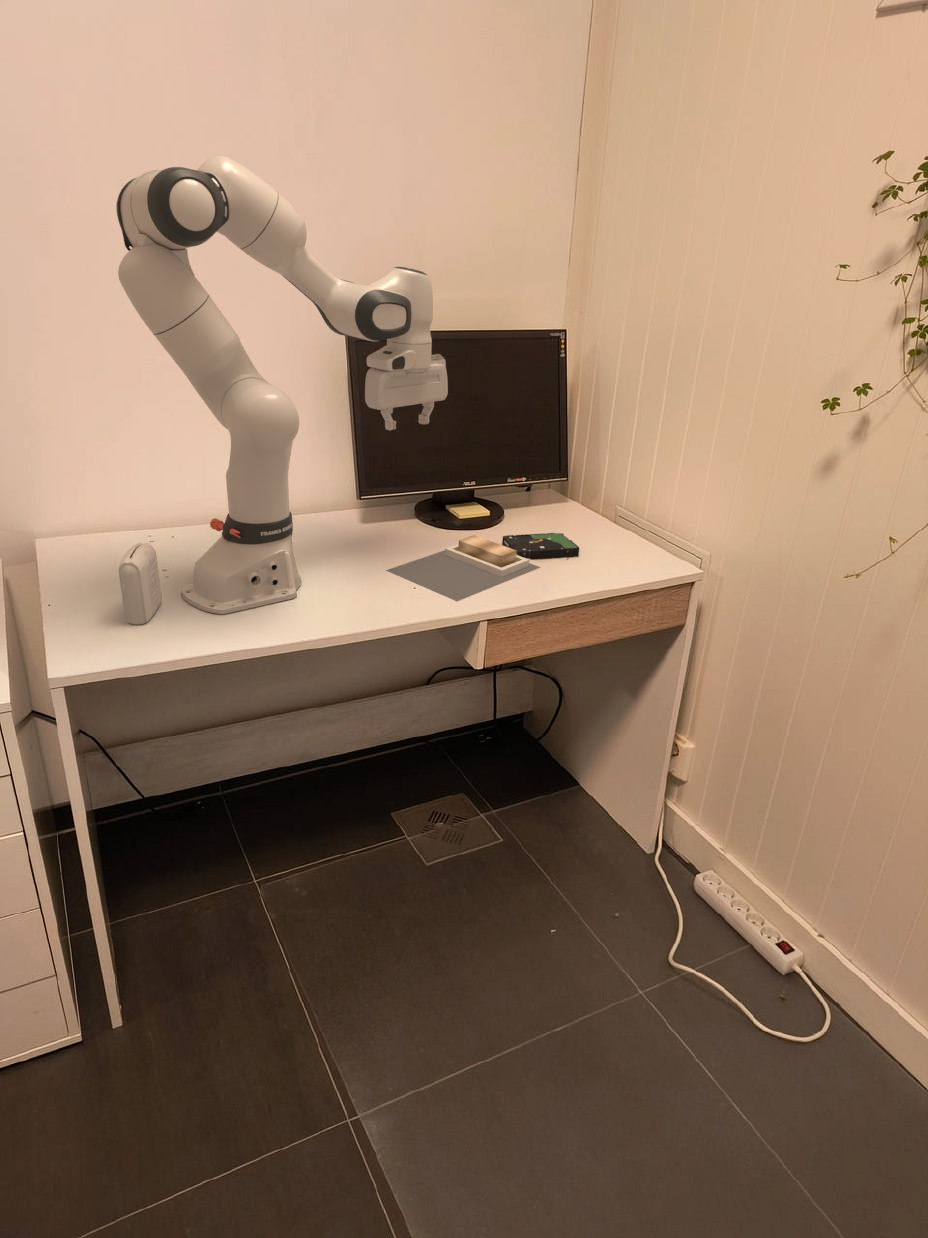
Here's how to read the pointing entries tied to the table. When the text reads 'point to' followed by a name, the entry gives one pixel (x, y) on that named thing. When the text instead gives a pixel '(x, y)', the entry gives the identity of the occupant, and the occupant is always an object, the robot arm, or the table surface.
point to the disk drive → (541, 546)
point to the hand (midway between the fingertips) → (407, 426)
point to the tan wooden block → (487, 551)
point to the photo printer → (140, 583)
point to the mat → (459, 573)
